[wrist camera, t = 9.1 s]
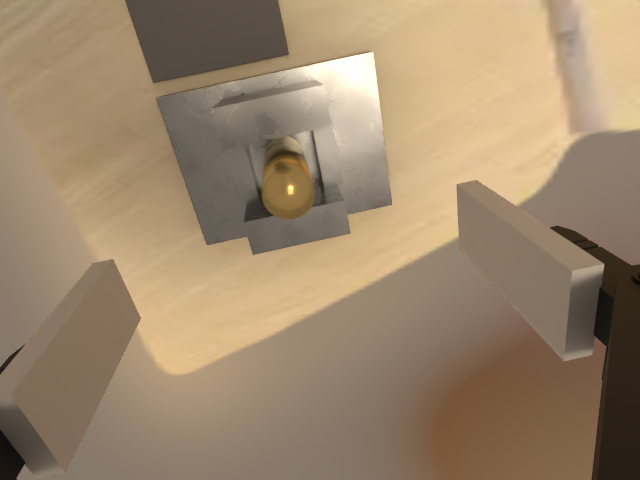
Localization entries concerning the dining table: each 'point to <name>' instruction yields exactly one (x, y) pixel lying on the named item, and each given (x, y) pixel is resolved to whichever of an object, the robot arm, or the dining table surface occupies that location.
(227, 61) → the mat
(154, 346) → the dining table surface
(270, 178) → the peg
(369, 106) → the bracket
